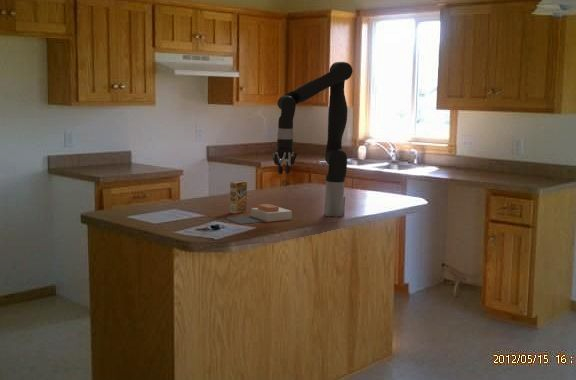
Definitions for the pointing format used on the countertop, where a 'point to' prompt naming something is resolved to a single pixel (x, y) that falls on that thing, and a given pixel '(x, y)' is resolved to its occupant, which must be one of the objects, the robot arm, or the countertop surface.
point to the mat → (245, 220)
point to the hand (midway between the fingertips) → (283, 173)
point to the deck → (271, 214)
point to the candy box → (238, 197)
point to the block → (268, 207)
